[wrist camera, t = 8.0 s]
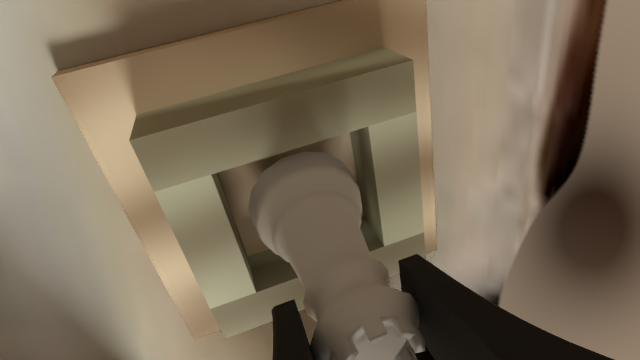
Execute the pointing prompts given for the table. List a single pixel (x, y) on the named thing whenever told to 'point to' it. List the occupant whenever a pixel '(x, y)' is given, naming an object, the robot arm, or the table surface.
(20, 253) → the table surface
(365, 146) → the socket stand
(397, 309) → the rook chess piece
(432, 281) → the robot arm
